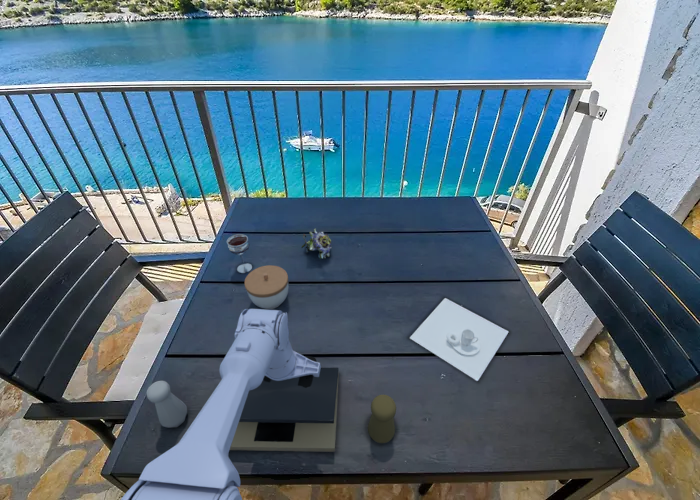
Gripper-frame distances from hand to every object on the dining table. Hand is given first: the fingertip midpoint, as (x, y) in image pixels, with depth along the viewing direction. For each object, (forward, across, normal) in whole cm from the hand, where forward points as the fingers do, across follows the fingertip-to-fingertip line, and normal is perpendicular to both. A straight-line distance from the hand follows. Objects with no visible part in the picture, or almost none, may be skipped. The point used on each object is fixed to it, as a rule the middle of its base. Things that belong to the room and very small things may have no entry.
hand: (288, 379), depth 70 cm
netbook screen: (+10, +4, 0) cm, 10 cm away
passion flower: (+27, +8, -53) cm, 61 cm away
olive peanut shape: (+15, -20, +3) cm, 25 cm away
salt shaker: (+14, +26, +8) cm, 31 cm away
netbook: (+15, +4, +2) cm, 15 cm away
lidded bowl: (+22, +17, -30) cm, 41 cm away
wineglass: (+25, +31, -42) cm, 58 cm away
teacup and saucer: (+20, -39, -25) cm, 51 cm away
